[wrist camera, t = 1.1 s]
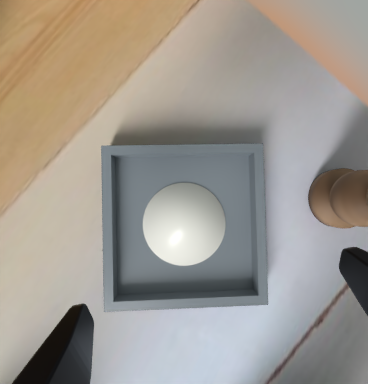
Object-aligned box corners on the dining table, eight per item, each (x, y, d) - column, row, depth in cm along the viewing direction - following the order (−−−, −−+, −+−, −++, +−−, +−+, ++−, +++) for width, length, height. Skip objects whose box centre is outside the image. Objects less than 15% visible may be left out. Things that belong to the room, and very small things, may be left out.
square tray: (258, 294, 25) (268, 304, 22) (110, 300, 24) (103, 311, 22) (254, 148, 25) (263, 143, 23) (108, 151, 24) (101, 145, 22)
